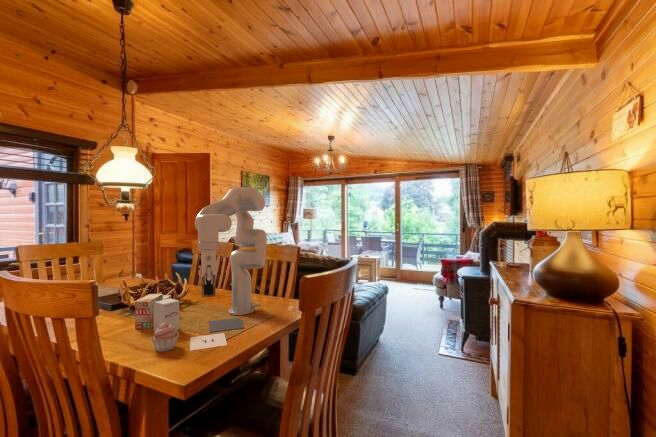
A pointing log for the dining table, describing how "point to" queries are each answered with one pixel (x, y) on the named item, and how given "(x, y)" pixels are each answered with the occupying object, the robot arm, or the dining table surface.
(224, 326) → the mat
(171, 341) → the cupcake
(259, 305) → the robot arm
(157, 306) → the supplement box
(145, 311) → the white printed carton
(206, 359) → the dining table surface
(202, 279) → the walnut block
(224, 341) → the tile
